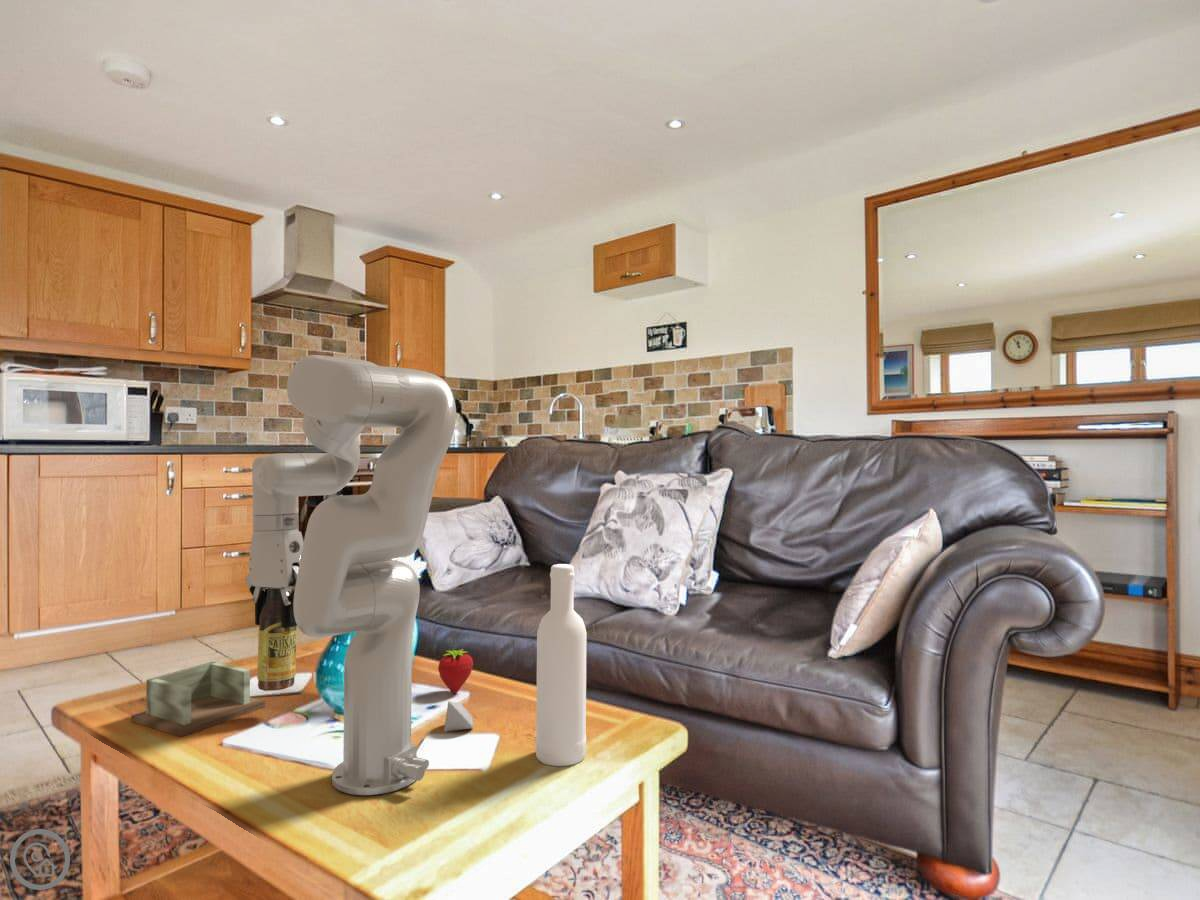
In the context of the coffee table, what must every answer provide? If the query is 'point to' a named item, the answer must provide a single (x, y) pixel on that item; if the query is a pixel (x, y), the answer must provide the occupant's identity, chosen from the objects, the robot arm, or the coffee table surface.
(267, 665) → the sauce bottle
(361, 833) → the coffee table surface
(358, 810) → the coffee table surface
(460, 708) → the grey pyramid
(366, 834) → the coffee table surface
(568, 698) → the bottle
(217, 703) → the rest
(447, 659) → the strawberry
